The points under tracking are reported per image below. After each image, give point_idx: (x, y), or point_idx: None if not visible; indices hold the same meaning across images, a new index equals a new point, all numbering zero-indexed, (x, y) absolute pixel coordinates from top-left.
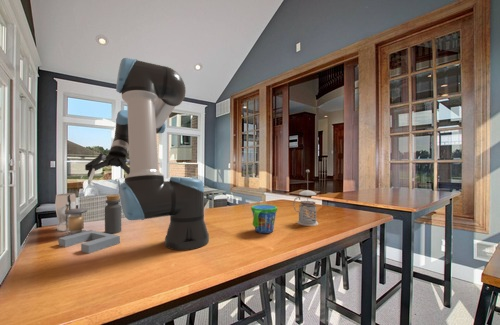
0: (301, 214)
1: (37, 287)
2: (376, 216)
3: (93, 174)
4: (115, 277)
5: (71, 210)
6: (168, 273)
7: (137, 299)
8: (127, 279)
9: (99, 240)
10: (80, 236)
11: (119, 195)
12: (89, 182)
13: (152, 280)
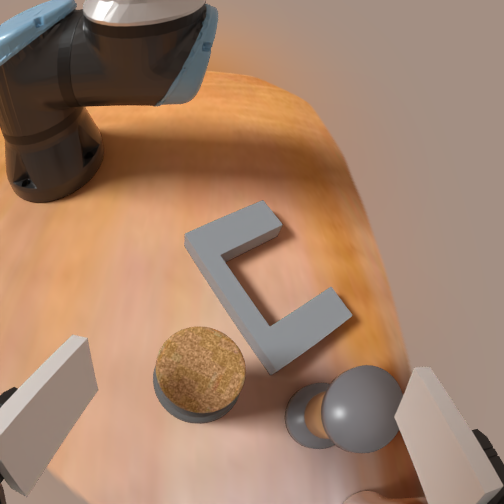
0: None
1: (306, 136)
2: None
3: (440, 479)
4: (215, 108)
5: (383, 403)
6: None
7: None
8: (202, 98)
9: (240, 224)
10: (298, 308)
11: (157, 358)
12: (408, 396)
13: None
